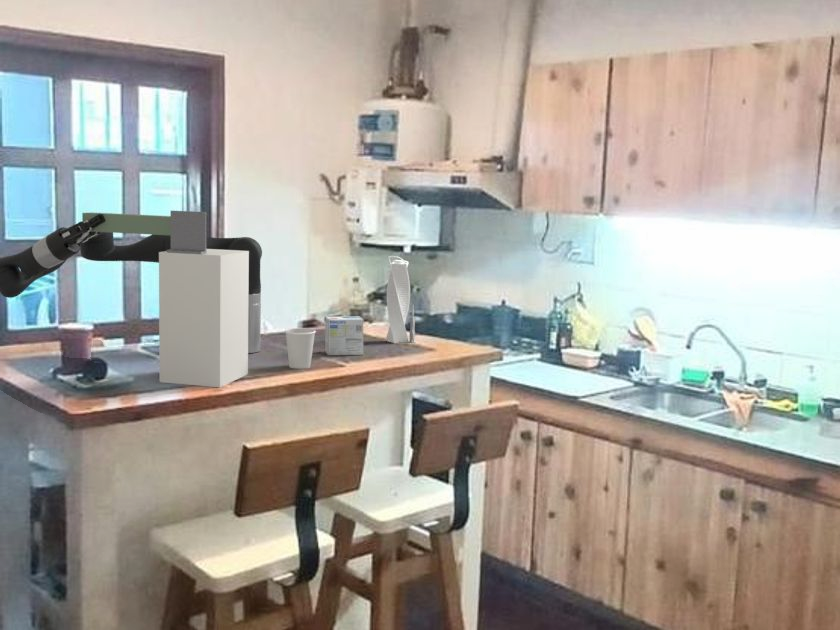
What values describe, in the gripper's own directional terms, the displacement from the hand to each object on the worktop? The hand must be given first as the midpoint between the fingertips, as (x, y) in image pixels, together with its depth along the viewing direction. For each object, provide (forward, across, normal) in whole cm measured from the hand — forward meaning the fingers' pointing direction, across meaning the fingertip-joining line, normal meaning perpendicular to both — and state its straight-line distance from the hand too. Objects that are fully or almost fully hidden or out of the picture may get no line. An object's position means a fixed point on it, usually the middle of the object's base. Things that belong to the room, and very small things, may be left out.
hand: (108, 216), depth 237 cm
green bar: (+3, 0, +6) cm, 7 cm away
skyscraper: (+29, +76, +63) cm, 103 cm away
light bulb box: (+21, +50, +58) cm, 79 cm away
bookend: (+17, -4, +18) cm, 25 cm away
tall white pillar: (+2, +2, +47) cm, 47 cm away
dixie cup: (+17, +26, +56) cm, 63 cm away
